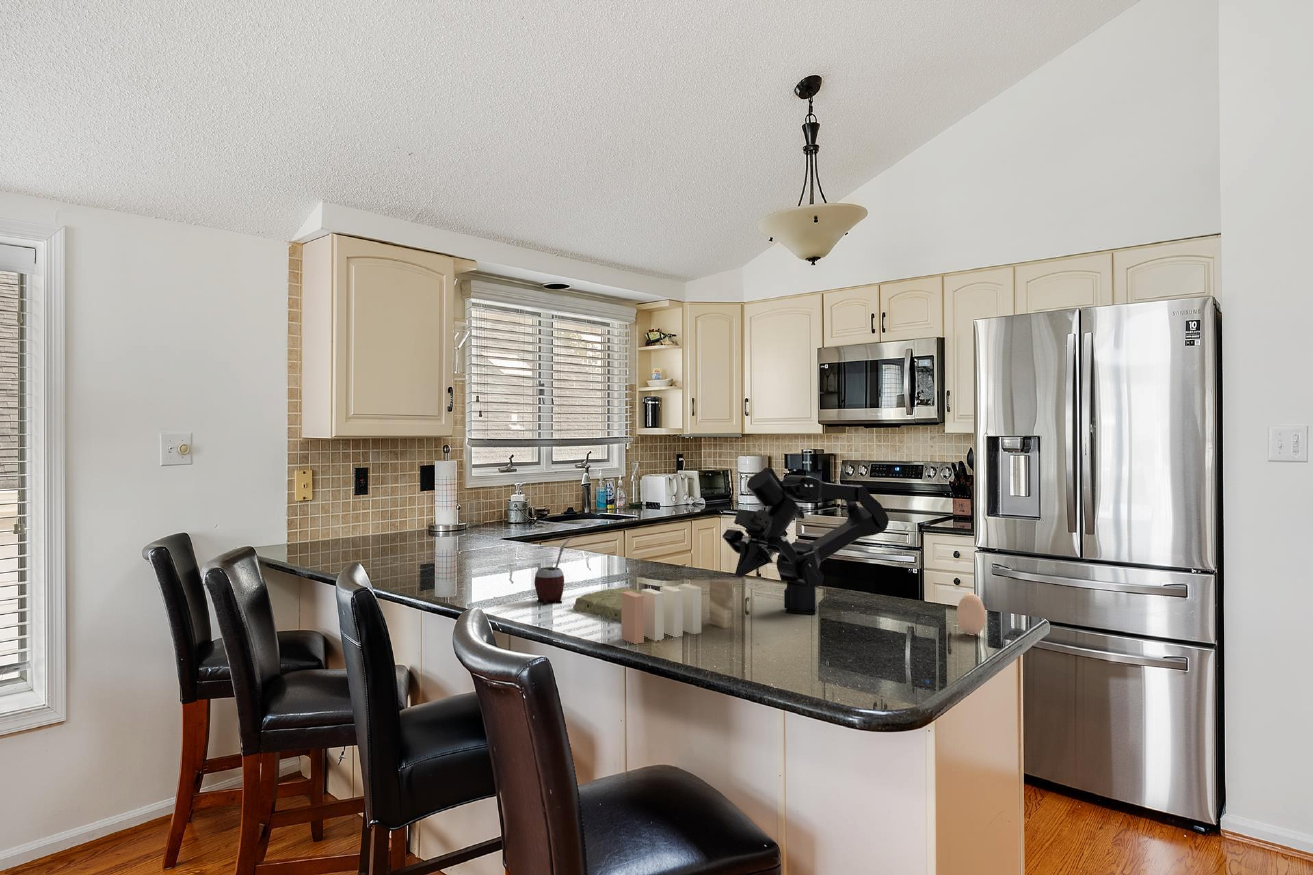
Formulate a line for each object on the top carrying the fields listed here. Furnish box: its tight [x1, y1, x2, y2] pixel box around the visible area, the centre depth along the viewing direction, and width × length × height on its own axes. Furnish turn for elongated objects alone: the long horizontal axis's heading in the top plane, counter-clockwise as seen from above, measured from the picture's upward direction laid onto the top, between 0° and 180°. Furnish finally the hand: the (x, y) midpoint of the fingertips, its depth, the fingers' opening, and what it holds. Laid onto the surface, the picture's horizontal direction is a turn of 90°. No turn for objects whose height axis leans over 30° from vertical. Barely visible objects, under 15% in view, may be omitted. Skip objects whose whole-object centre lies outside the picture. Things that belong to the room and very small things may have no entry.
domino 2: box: [640, 588, 665, 642], centre depth 141 cm, size 2×5×9 cm, turn 33°
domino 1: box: [620, 591, 645, 645], centre depth 138 cm, size 2×5×9 cm, turn 33°
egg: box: [956, 592, 987, 635], centre depth 142 cm, size 5×5×8 cm
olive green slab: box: [572, 586, 641, 621], centre depth 164 cm, size 19×20×4 cm
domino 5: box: [709, 579, 733, 629], centre depth 150 cm, size 2×5×9 cm, turn 33°
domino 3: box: [659, 585, 684, 638], centre depth 143 cm, size 2×5×9 cm, turn 33°
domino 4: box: [678, 583, 702, 635], centre depth 146 cm, size 2×5×9 cm, turn 33°
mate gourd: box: [534, 537, 572, 606], centre depth 172 cm, size 8×8×15 cm
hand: (737, 576), depth 152 cm, fingers closed
